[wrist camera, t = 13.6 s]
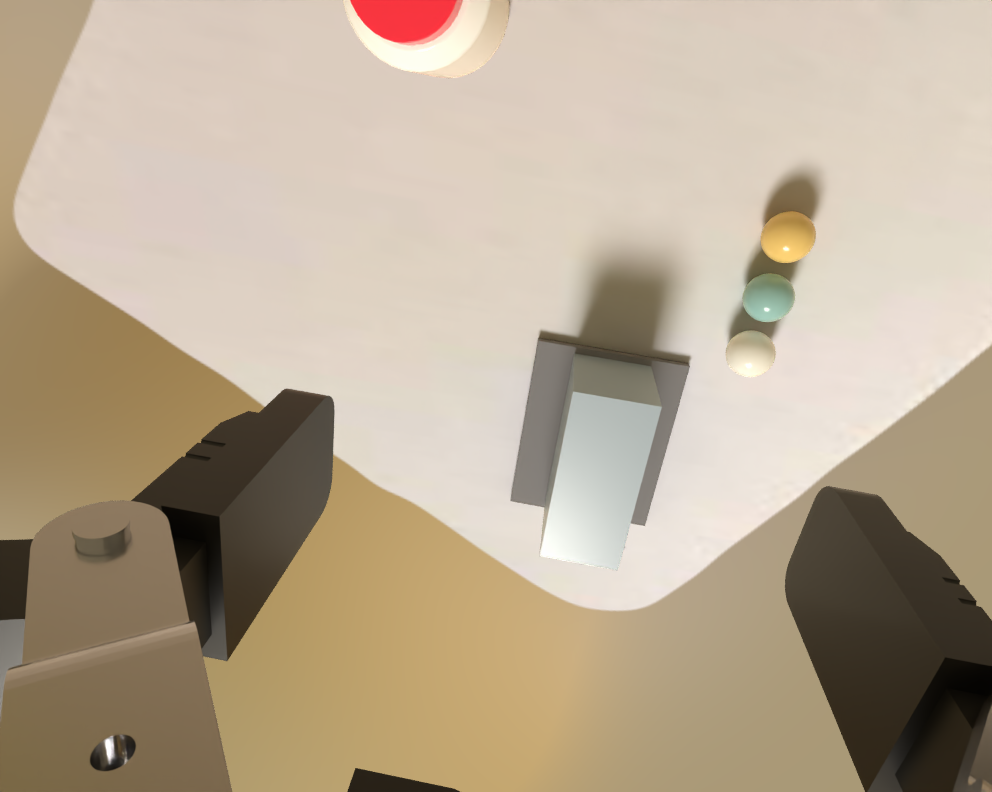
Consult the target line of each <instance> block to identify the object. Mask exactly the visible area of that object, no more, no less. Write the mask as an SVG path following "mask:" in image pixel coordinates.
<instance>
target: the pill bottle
mask: <svg viewBox="0 0 992 792" xmlns="http://www.w3.org/2000/svg"><path fill="white" fill-rule="evenodd" d="M343 4H344V7H345V10H346V13H347V16H348V19H349V22H350V23H351V25H352V27H353V29H354V31H355V33H356V35H357V36H358V38H359V39H360V40H361V41H362V43H363V44H364V45H365V46H366V48H367V49H368V50H369V51H371V52H372V53H373V54H374V55H375V56H376V57H377V58H379V59H380V60H382V61H384V62H385V63H387V64H389V65H390V66H393V67H396V68H399V69H402V70H405V71H409V72H413V73H418V74H423V75H428V76H433V77H440V78H456V77H462V76H465V75H467V74H470V73H472V72H474V71H476V70H477V69H479V68H481V67H482V66H483V65H484V64H485V63H486V62H487V61H488V60H489V59H491V57H492V56H493V55H494V53H495V52H496V50H497V49H498V48H499V46H500V44H501V41H502V39H503V37H504V35H505V31H506V27H507V24H508V17H509V0H343Z"/></svg>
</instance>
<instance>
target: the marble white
mask: <svg viewBox="0 0 992 792" xmlns="http://www.w3.org/2000/svg"><path fill="white" fill-rule="evenodd" d="M775 355H776V351H775V346H774V344H773V342H772V341H771V339H770V338H769V337H768V336H767V335H765V334H763V333H761V332H759V331H753V330H752V331H744V332H741V333H739V334H737V335H736V336H734V337H733V338H732V339H731V340H730V342H729V344H728V345H727V348H726V360H727V363H728V365H729V367H730V368H731V369H732V370H733V371H734V372H735V373H737V374H739V375H741V376H745V377H756V376H759V375H761V374H763V373H765V372H766V371H768V370H769V369H770V367H771V366H772V365H773V363H774V360H775Z"/></svg>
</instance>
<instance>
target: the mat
mask: <svg viewBox="0 0 992 792" xmlns="http://www.w3.org/2000/svg"><path fill="white" fill-rule="evenodd" d="M574 353H576V354H581V355H587V356H593V357H599V358H605V359H611V360H617V361H623V362H628V363H634V364H640V365H646V366H651V367H652V371H653V375H654V379H655V383H656V386H657V390H658V394H659V398H660V402H661V406H662V408H661V412H660V416H659V419H658V423H657V427H656V431H655V434H654V438H653V442H652V445H651V449H650V453H649V457H648V460H647V464H646V468H645V471H644V475H643V479H642V483H641V486H640V490H639V494H638V497H637V501H636V505H635V509H634V512H633V516H632V520H631V523H632V524H637V525H643V526H645V523H646V519H647V516H648V512H649V509H650V505H651V502H652V498H653V495H654V491H655V488H656V484H657V480H658V477H659V473H660V470H661V466H662V463H663V459H664V456H665V452H666V449H667V445H668V442H669V438H670V434H671V431H672V427H673V424H674V420H675V417H676V413H677V410H678V406H679V403H680V399H681V396H682V392H683V388H684V385H685V381H686V378H687V374H688V371H689V367H690V366H689V364H688V363H682V362H676V361H670V360H664V359H658V358H653V357H647V356H641V355H635V354H629V353H623V352H617V351H611V350H606V349H600V348H594V347H588V346H582V345H576V344H570V343H565V342H559V341H553V340H547V339H541V338H539V339H538V345H537V351H536V356H535V362H534V368H533V374H532V379H531V385H530V391H529V397H528V402H527V408H526V414H525V420H524V426H523V431H522V437H521V443H520V449H519V454H518V460H517V466H516V472H515V477H514V483H513V489H512V495H511V501H513V502H519V503H524V504H529V505H535V506H540V507H544V506H545V499H546V494H547V489H548V484H549V479H550V474H551V469H552V464H553V459H554V454H555V449H556V444H557V439H558V434H559V429H560V424H561V418H562V413H563V408H564V403H565V398H566V393H567V388H568V383H569V378H570V373H571V368H572V363H573V358H574Z"/></svg>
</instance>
